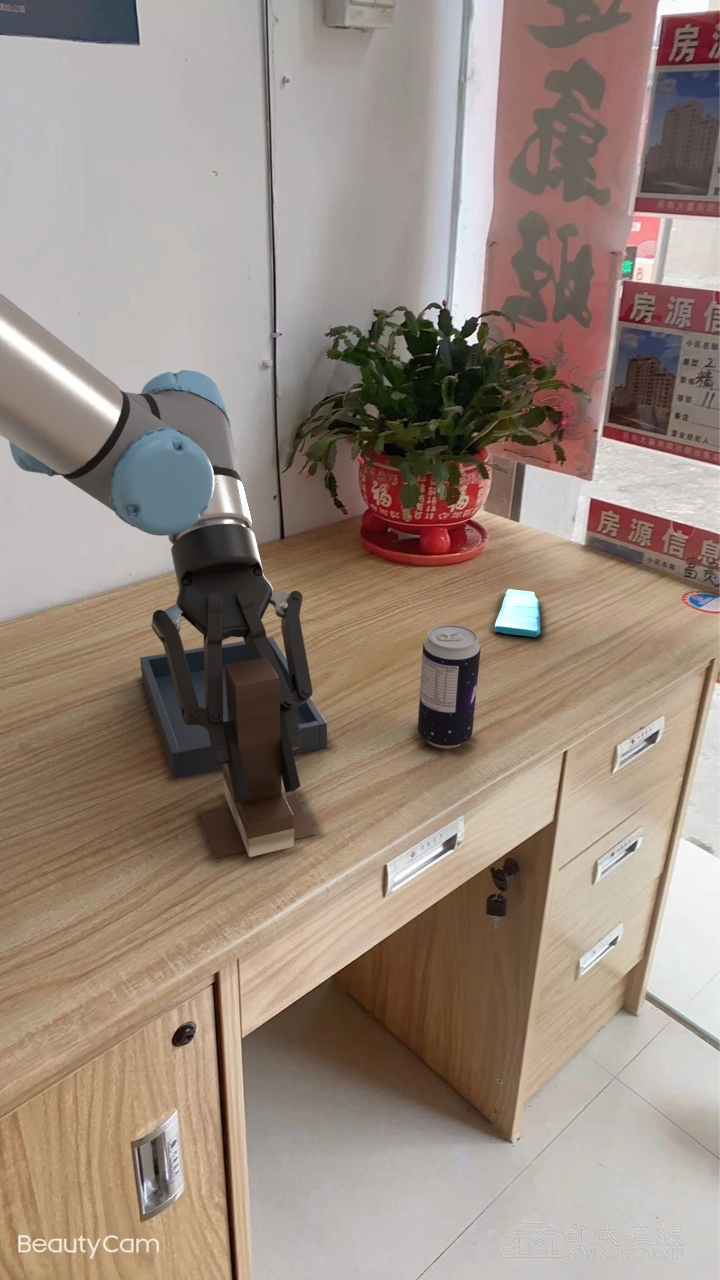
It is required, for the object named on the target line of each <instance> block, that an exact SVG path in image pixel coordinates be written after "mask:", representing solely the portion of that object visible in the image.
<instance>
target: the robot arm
mask: <svg viewBox="0 0 720 1280" xmlns="http://www.w3.org/2000/svg"><path fill="white" fill-rule="evenodd" d="M231 425H232V424H231V421H230V418H229V415H228V413H227V409H226V406H225V401H224V399H223V397H222V395H221V391H220V389H219V387H218V385H217V384H216V382H215V381H214V380H213V378H211V377H209V376H207V375H206V374H204V373H202V372H200V371H195V370H188V369H181V370H180V371H178V372H171V371H167V372H163V373H160V374H158V375H156V376H154V377H153V378H151V379H150V380H148V382H147V383H145V385H144V386H143V388H142V390H141V391H140V393H135V392H134V393H133V392H127V391H123V390H121V389H120V386H118V384H116V383H115V382H113V381H112V380H111V379H110V378H108V377H107V376H106V375H105V374H103V373H102V372H101V371H99V370H98V369H97V368H96V367H94V366H93V365H92V364H91V363H90V362H88V361H87V360H86V359H85V358H84V357H82V356H81V355H80V354H78V353H77V352H75V351H74V350H73V349H72V348H71V347H69V346H68V345H66V343H64V342H63V341H62V340H60V338H58V337H57V336H56V335H54V334H53V333H52V332H51V331H49V330H48V329H46V328H45V327H44V326H43V325H41V324H40V323H39V322H38V321H37V320H35V319H34V318H33V317H31V315H29V314H28V313H26V312H25V311H24V310H22V309H21V308H20V307H19V306H18V305H16V304H15V303H14V302H12V301H11V300H10V299H9V298H8V297H7V296H5V295H4V294H2V293H1V292H0V436H1V437H3V438H4V439H6V440H7V441H8V442H9V448H10V453H11V456H12V458H13V461H14V462H15V464H16V465H17V466H18V467H19V468H20V469H21V470H23V471H25V472H29V473H37V474H42V475H47V476H48V477H54V476H62V477H63V478H64V479H65V480H66V481H68V482H69V483H70V484H72V485H74V486H75V487H77V488H78V489H80V490H81V491H83V492H84V493H85V494H88V495H89V496H90V497H92V498H93V499H95V500H96V501H98V502H100V504H102V505H104V506H105V507H107V508H108V509H110V510H111V511H112V512H114V513H115V515H116V516H117V517H118V518H119V519H120V520H121V521H123V522H124V523H126V524H127V525H129V526H131V527H133V528H136V529H138V530H140V531H141V532H143V533H146V534H148V535H153V536H159V537H160V536H161V537H163V536H164V537H165V536H168V541H169V542H170V543H171V544H172V546H171V548H170V552H171V557H172V563H173V566H174V567H173V568H174V573H175V577H176V581H177V586H178V587H177V588H178V594H177V598H176V601H175V604H173V605H171V606H169V607H168V608H166V609H163V610H162V609H157V610H155V611H154V612H153V614H152V617H151V624H150V625H151V626H150V627H151V629H152V631H153V632H154V634H155V635H156V636H157V638H158V639H159V640H160V642H161V643H162V645H163V649H164V653H165V654H166V656H167V660H168V664H169V668H170V672H171V675H172V679H173V683H174V687H175V691H176V695H177V699H178V702H179V706H180V710H181V714H182V718H183V721H184V723H185V724H187V725H199V726H203V727H205V728H206V729H207V731H208V733H209V738H210V743H211V748H212V753H213V758H214V761H215V762H216V764H217V765H222V764H227V763H228V768H229V773H230V778H231V783H232V787H233V792H234V797H235V802H236V804H238V803H242V802H245V801H246V800H247V799H248V798H250V797H249V792H248V788H247V783H246V778H245V773H244V769H243V764H242V759H241V755H240V750H239V746H238V742H237V737H236V732H235V728H234V723H233V720H232V721H227V722H223V682H222V645H223V641H224V640H226V639H228V638H232V637H234V638H242V639H243V641H245V644H246V646H247V647H248V648H249V649H250V652H251V654H252V656H253V659H258V658H264V657H267V659H268V660H269V662H270V664H271V666H272V667H273V669H274V671H275V672H276V674H277V676H278V678H279V705H280V744H281V778H282V785H283V788H284V793H285V794H287V793H292V792H295V791H296V790H298V789H299V788H300V787H301V782H300V779H299V773H298V770H297V765H296V761H295V755H293V751H292V750H296V749H298V748H299V747H300V746H301V741H302V739H301V735H300V731H299V726H298V722H297V718H296V713H295V710H296V708H297V707H299V706H300V705H302V704H304V703H305V702H306V701H307V700H308V699H309V698H310V697H311V698H312V696H313V693H314V692H313V691H314V690H313V686H312V680H311V673H310V669H309V664H308V658H307V651H306V645H305V639H304V635H303V630H302V623H301V617H300V613H301V608H302V604H303V594H302V593H301V592H300V591H299V590H292V591H291V592H290V593H287V592H283V591H280V590H276V589H273V586H272V584H271V583H270V582H269V580H268V579H267V578H266V577H265V574H264V571H263V570H264V569H263V566H262V562H261V557H260V553H259V549H258V543H257V540H256V536H255V532H253V530H251V528H252V525H253V523H252V517H251V513H250V510H249V505H248V502H247V498H246V493H245V490H244V486H243V482H242V476H241V472H240V468H239V463H238V462H239V461H238V457H237V455H236V450H235V445H234V440H233V435H232V431H231V427H232V426H231ZM269 604H271V605H272V606H273V608H274V613H275V616H277V617H279V618H281V619H280V620H281V621H280V624H281V625H280V628H281V635H282V640H283V647H284V652H285V653H284V654H285V657H286V659H287V664H288V670H289V676H290V682H291V688H292V693H291V692H290V690H289V688H288V685H287V683H286V681H285V678H284V676H283V674H282V671H281V669H280V667H279V664H278V662H277V660H276V657H275V655H274V653H273V650H272V648H271V646H270V643H269V641H268V639H267V638H268V636H267V632H266V631H267V630H266V628H265V626H264V624H263V621H262V619H263V617H264V615H265V613H266V611H267V609H268V606H269ZM182 617H183V618H184V619H185V620H186V621H187V622H188V623H189V624H190V625H192V626H193V627H194V628H195V630H197V631H198V632H199V633H200V634H202V635H203V648H204V656H205V708H200V707H199V705H198V701H197V697H196V694H195V690H194V686H193V682H192V678H191V675H190V671H189V667H188V663H187V660H186V656H185V652H184V651H185V649H184V645H183V641H182V637H181V634H180V631H181V628H182V622H181V618H182Z"/></svg>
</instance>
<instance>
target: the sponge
mask: <svg viewBox="0 0 720 1280" xmlns="http://www.w3.org/2000/svg"><path fill="white" fill-rule="evenodd" d="M535 593H536V592H534V591H530V590H529V591H528V590H518V589H512V588H509V589H507V590H506V592H505V596H504V598H503V600H502V604H501V608H500V610H499V613H498V615H497V618H496V620H495V623H494V632H496V633H501V634H505V635H514V636H525V637H530V638H537V637H538V636H540V634H541V622H540V620H541V614H540V601H539V599H538V598H537V597H536V594H535Z"/></svg>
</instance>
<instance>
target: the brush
mask: <svg viewBox="0 0 720 1280" xmlns="http://www.w3.org/2000/svg"><path fill="white" fill-rule="evenodd" d="M225 677H226V694H227V710H228V721H232V720H233V723H234V728H235V732H236V737H237V742H238V746H239V750H240V755H241V759H242V764H243V769H244V773H245V778H246V783H247V788H248V792H249V797H250V798H248V799H247V800H246V801H245V802H242V803H238V804H236V802H235V797H234V792H233V787H232V783H231V778H230V773H229V768H228V763H227V764H223V769H222V774H223V775H222V776H223V790H224V791H223V792H224V797H225V799H226V802H227V805H228V807H229V809H230V810H231V812H232V815H233V817H234V820H235V822H236V825H237V827H238V830H239V832H240V835H241V838H242V840H243V843H244V845H245V848H246V850H247V851H246V853H247V856H248V858H252V857H256V856H260V855H265V854H268V853H272V852H277V851H281V850H282V851H283V850H285V849H291V848H293V847H295V840H294V817H293V813H292V811H291V809H290V807H289V805H288V803H287V801H286V799H285V795H284V792H283V780H282V775H281V744H280V705H279V678H278V676H277V674H276V672H275V671H274V669H273V667H272V666H271V664H270V662H269V660H268V659H267V657H264V658H258V659H252V660H246V661H240V662H234V663H228V664H225Z"/></svg>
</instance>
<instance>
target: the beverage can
mask: <svg viewBox="0 0 720 1280" xmlns="http://www.w3.org/2000/svg"><path fill="white" fill-rule="evenodd" d="M421 654H422V655H421V667H420V668H421V671H420V686H419V701H418V702H419V703H418V717H417V718H418V719H417V732H418V734H419V736H421V737H422V738H423V739H424V740H425V741H426V742H427V743H428V744H429V745H431V746H433V747H435V748H439V749H454V748H457V747H460V746H461V745H462V744H464V743H466V742H467V741H469V739H471V737H472V736H473V731H474V721H475V720H474V719H475V711H476V702H477V701H476V699H477V689H478V680H479V669H480V661H481V660H480V659H481V646H480V644H479V642H478V634H477V633H476V632H475V631H474V630H473V629H471V628H469V627H468V626H467V627H466V626H464V625H458V624H439V625H435V626H434V627H432V628H431V629H429V631H428V632H427V637H426V639H425V640H424V641H423V643H422V653H421Z"/></svg>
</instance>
